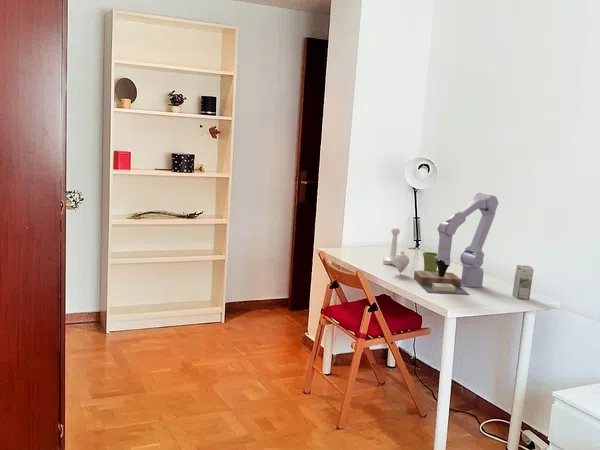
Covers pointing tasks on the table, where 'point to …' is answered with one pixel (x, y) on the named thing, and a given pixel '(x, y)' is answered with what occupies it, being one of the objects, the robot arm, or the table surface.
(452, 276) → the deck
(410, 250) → the table surface
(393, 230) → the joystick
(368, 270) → the table surface
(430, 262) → the plant pot
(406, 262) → the spinning top
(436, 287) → the card
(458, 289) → the mat
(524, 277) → the syrup box
